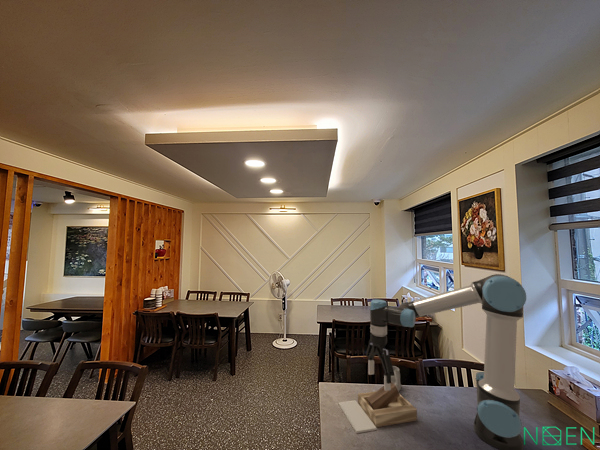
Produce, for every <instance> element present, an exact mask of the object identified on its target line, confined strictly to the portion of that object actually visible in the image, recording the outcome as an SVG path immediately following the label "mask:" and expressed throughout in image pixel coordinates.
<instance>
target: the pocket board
mask: <svg viewBox="0 0 600 450" xmlns="http://www.w3.org/2000/svg"><path fill="white" fill-rule="evenodd" d="M376 391H377V390H376ZM376 391H369V392H359V393H357V403H358V404H359V405H360V407H361V408H362V409H363V411H364V412H365V413H366V415H367V416H368V417H369V419H370V420H371V421H372V423H373V424H374V425H375V426H376V428H380V427H385V426H386V427H387V426H391V425H398V424H403V423H409V422H410V423H411V422H415V421H418V415H417V414H418V409H417V408H416V407H415V406H414V405H413V404H412V403H411V402H410V401H408V400H407V399H406V398H405V397H404V396H403V395H401V394H400V396H399V397H398V398H396V399H395V400H394V401H392V402H391V403H390V404H388V405H387V406H386V407H385V408H383V409H376V410H373V409H372V408H371V406H370V404H369V402H368V400H367V398H368V397H369V396H371V395H372V394H374V393H375V392H376Z"/></svg>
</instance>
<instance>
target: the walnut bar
mask: <svg viewBox="0 0 600 450" xmlns="http://www.w3.org/2000/svg"><path fill="white" fill-rule="evenodd" d="M399 392H400V391H399ZM399 392H398V390H397V388H396V386H395V385H394V384H393V383H392V382H391V390H389V391H385V390H384V385H383V386H382V387H380V388H379V389H377V390H376V392H375V393H374V394H372V395H371V396H369V397H368V398H367V400H368V402H369V404H370V406H371V408H372V409H373V410H376V409H383V408H385V407H386V406H387V405H388V404H390V403H391V402H392V401H394V400H395V399H396V398H398V397H399V396H400V395H401V394H400V393H399Z"/></svg>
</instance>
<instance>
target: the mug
mask: <svg viewBox="0 0 600 450" xmlns="http://www.w3.org/2000/svg"><path fill="white" fill-rule="evenodd" d="M392 366H393V371H394V376H391V382H392V383H393V384H394V385H395V386H396V388H397V390H398V392H400V391H401V388H402V384H401V373H400V371H401V370H400V368H399V367H397V366H395V365H392Z"/></svg>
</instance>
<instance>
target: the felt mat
mask: <svg viewBox="0 0 600 450" xmlns="http://www.w3.org/2000/svg"><path fill="white" fill-rule="evenodd" d="M338 407H339V408H340V409H341V411H342V413H343V414H344V416H345V417H346V419H347V420H348V422H349V423H350V425H351V427H352V428H353V430H354V431H355V433H356V434H361V433H367V432H373V431H377V428H378V427H376V426H375V425H374V424H373V423H372V421H371V420H370V419H369V417H368V416H367V415H366V413H365V412H364V411H363V409H362V408H361V407H360V405H359V404H358V400H356V399H353V400H346V401H340V402H338Z"/></svg>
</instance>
